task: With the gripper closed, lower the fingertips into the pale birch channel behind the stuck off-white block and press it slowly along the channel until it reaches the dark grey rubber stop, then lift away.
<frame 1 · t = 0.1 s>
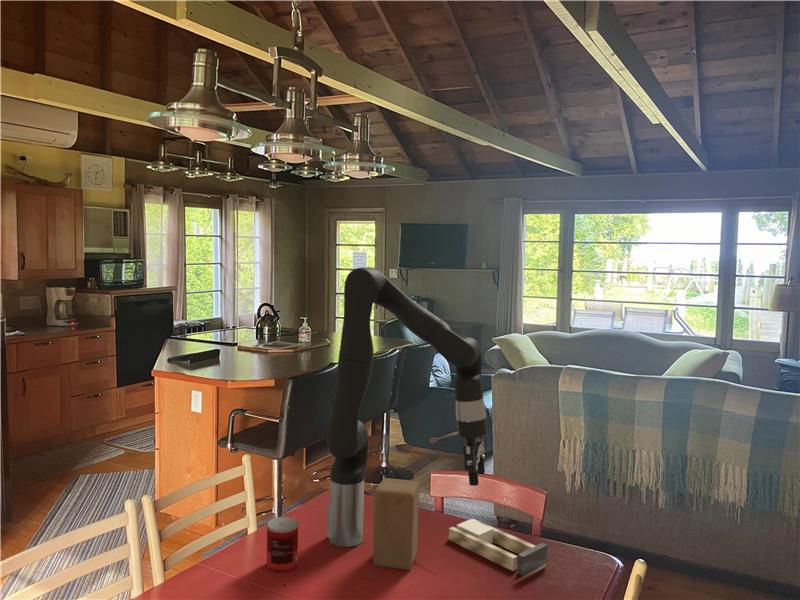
hand: (477, 479, 162), 22 cm above the table, tool pointing down, fingers open, 8 cm apart
canned food: (282, 566, 160), on the table
birch chute: (491, 551, 171), on the table
wooden block: (395, 560, 165), on the table
off-white block: (474, 533, 175), point 3 cm above the table, slide at 0.0 cm
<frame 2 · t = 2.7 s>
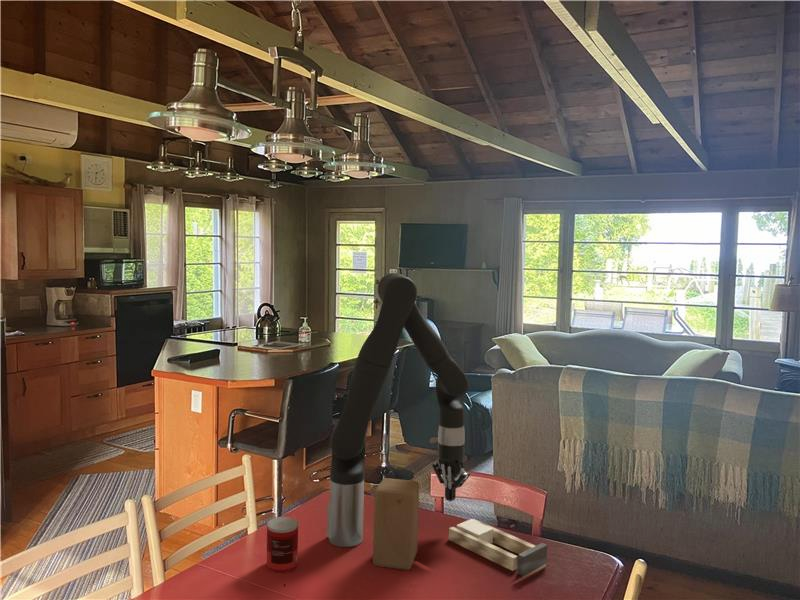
hand: (450, 500, 181), 9 cm above the table, tool pointing down, fingers closed
nothing on the table moved.
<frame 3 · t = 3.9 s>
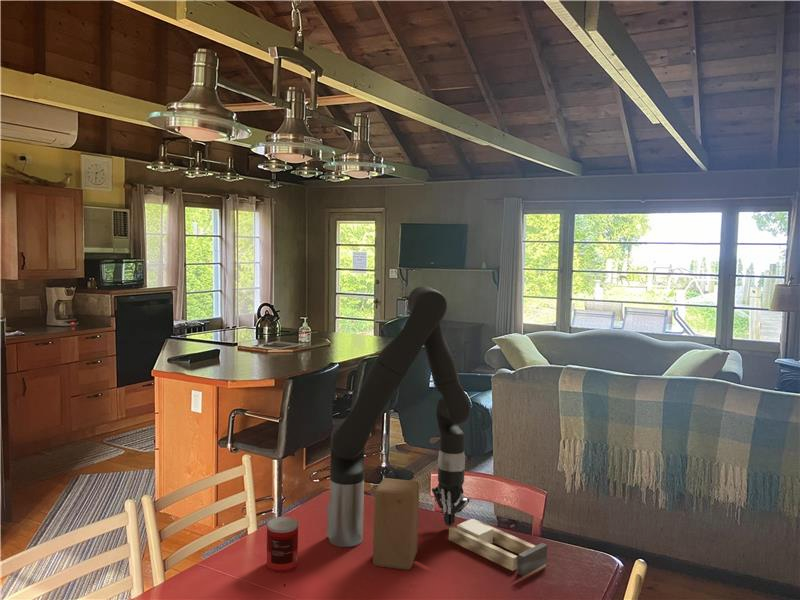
hand: (449, 524, 182), 2 cm above the table, tool pointing down, fingers closed
nothing on the table moved.
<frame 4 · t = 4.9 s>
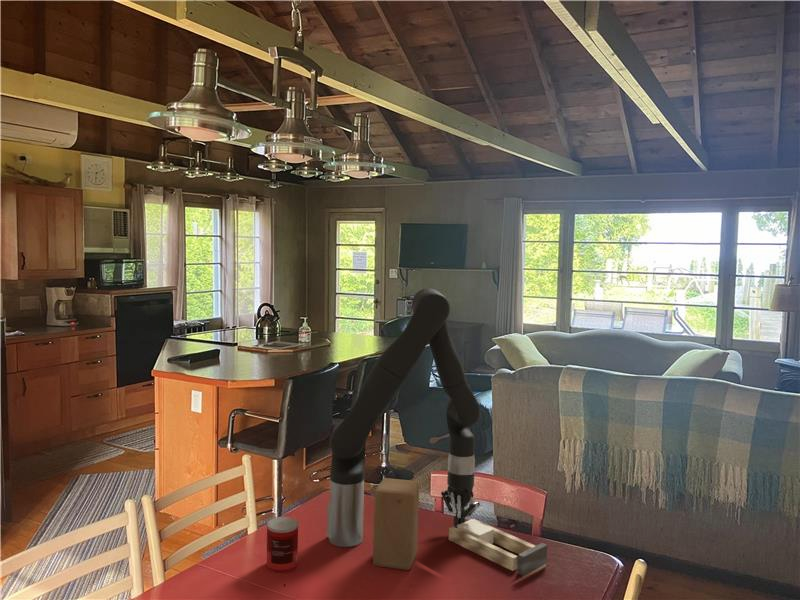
hand: (459, 528, 179), 2 cm above the table, tool pointing down, fingers closed
off-white block: (475, 534, 175), point 3 cm above the table, slide at 0.2 cm, touching gripper
everything else where it was.
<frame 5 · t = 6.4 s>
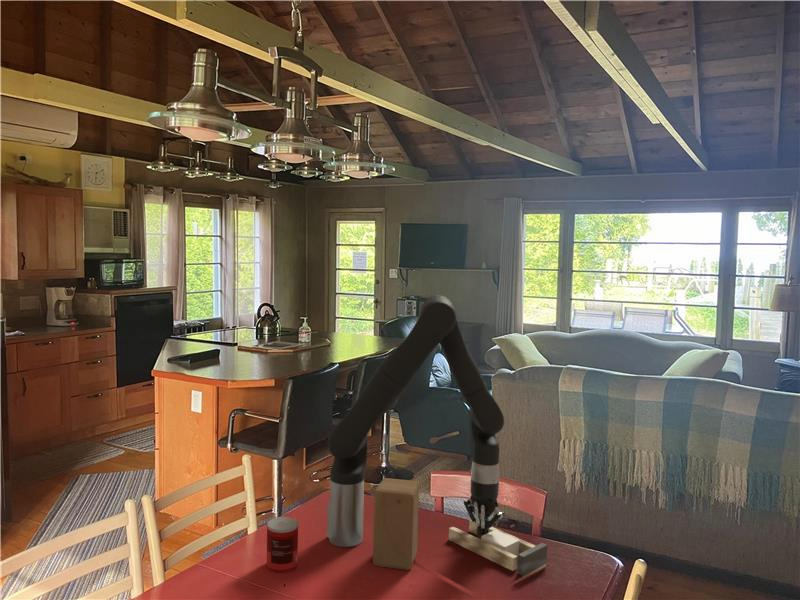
hand: (482, 539, 173), 2 cm above the table, tool pointing down, fingers closed
off-white block: (499, 545, 168), point 3 cm above the table, slide at 8.8 cm, touching gripper
everything else where it was.
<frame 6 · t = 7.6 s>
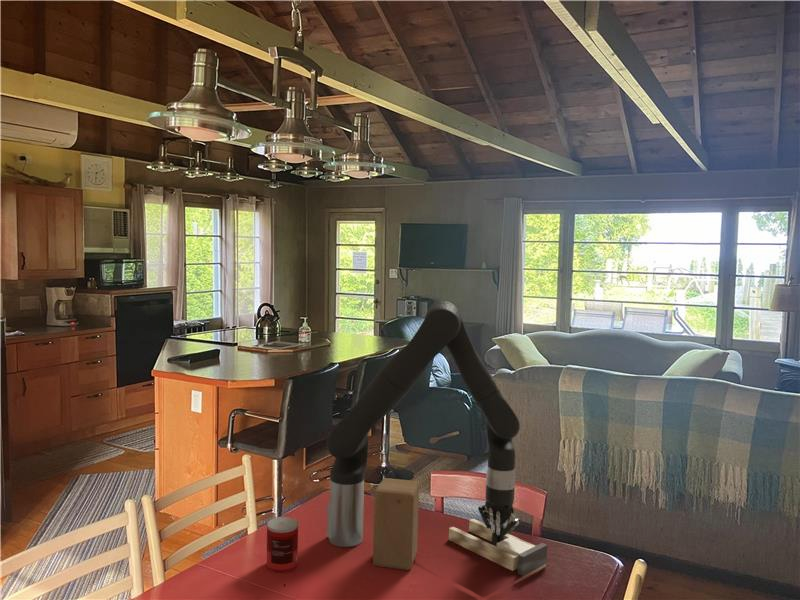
hand: (497, 546, 169), 2 cm above the table, tool pointing down, fingers closed
off-white block: (515, 552, 164), point 3 cm above the table, slide at 14.0 cm, touching gripper
everything else where it was.
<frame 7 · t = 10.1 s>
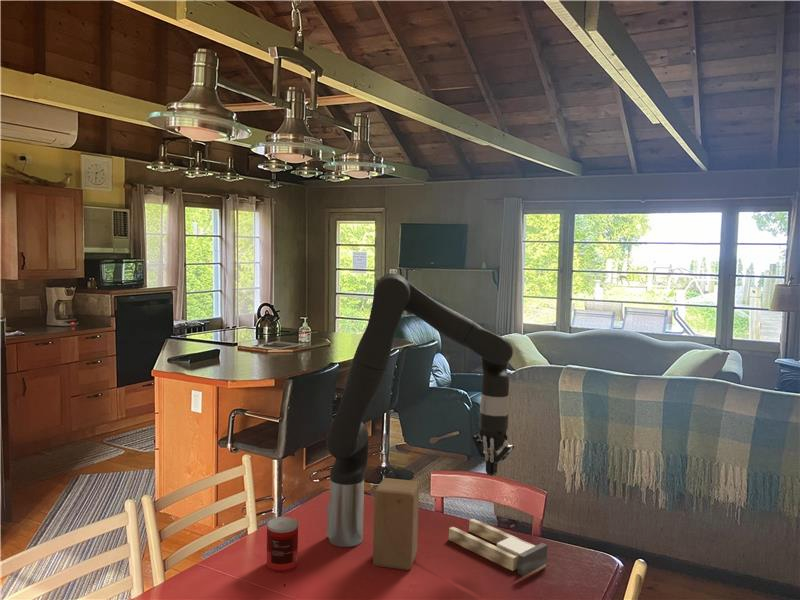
hand: (491, 474, 170), 21 cm above the table, tool pointing down, fingers closed
off-white block: (516, 552, 164), point 3 cm above the table, slide at 14.0 cm
everything else where it was.
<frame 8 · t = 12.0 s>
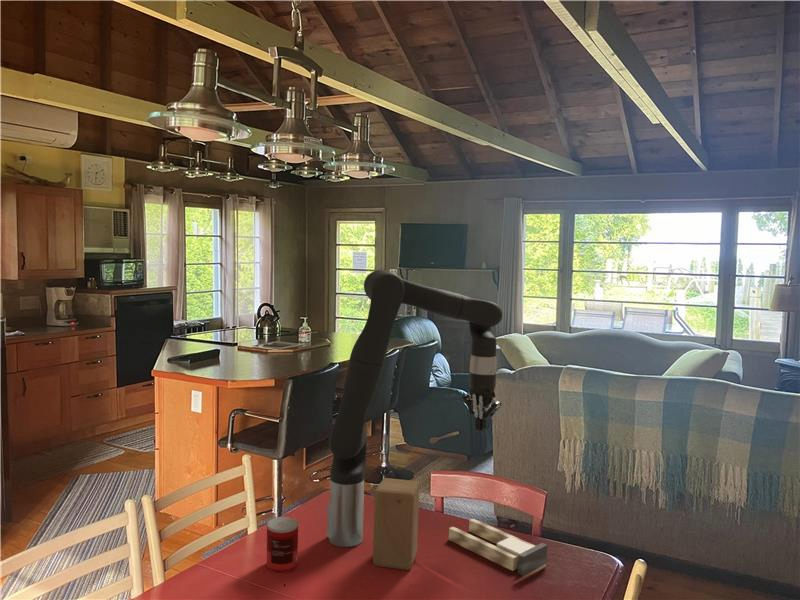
hand: (480, 430, 182), 29 cm above the table, tool pointing down, fingers closed
nothing on the table moved.
at the end: off-white block slide at 14.0 cm; wooden block moved 0.2 cm from its start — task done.
